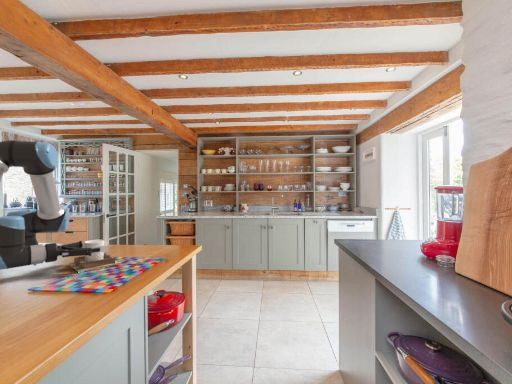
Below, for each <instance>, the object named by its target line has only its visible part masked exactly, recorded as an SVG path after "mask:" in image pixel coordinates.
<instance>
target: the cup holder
mask: <svg viewBox="0 0 512 384" xmlns="http://www.w3.org/2000/svg"><path fill="white" fill-rule="evenodd" d="M73 260H74V261H73V262H70V263H69V264H68V265H69V266H70V267H71V268H72V269H73V270H74V269H75V270H76V271H77V272H81V271H86V270H93V269H98V268H103V267H107V266H112V265H118V264H120V265H121V262H118V261H117V260H116V257H115V256H113V255H111V254H109V253H107V252H104V256H103V259H102V260H96V261H90V262H86V259H85V255H84V256H74V259H73ZM75 270H74V271H75ZM98 270H99V269H98ZM76 271H75V272H76ZM93 271H94V270H93ZM77 272H76V273H77Z"/></svg>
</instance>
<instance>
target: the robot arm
mask: <svg viewBox="0 0 512 384" xmlns="http://www.w3.org/2000/svg"><path fill="white" fill-rule="evenodd" d="M58 166H59V155H58V151H57V149H56V147H55V146H54V145H53V144H51V143H49V142H42V141H25V140H11V139H8V140H6V139H5V140H2V141H0V182H1V181H2V179H3V176H4V174H5V173H7V172H8V171H9V169H10V168H12V167H14V168H18V167H19V168H22V170H23V171H24V173H25V174H27V175H28V176H29V178H30V180H31V181H30V182H31V184H32V187H33V192H34V195H35V199H36V203H37V204H38V208H39V209H38V210H37V209H36V208H31V209H23V210H15V211H9V212H8V213H7V214H6V216H5V215H4V216H0V270H10V269H13V268H14V269H15V268H20V267H27V266H35V267H36V266H37V264H38V265H39V264H43V263H51V262H52V263H53V262H57V261H58V257H59V256H61V258H68V257H69V258H70V257H81V256H85V255H89V256H91V254H93V253H99V252H104V253H107V252H109V245H108V244H104V245H103V246H96V247H91V248H85V246H84V242H85V241H84V242H83V240H79V241H77V242H72V243H67V244H62V245H57V243H56V242H51V243H45V244H41V243H40V244H39V241H38V239H37V234H47V233H48V234H50V233H51V234H52V233H63V232H66V231H67V230H68V227H69V225H70V218H71V217H70V216H71V215H70V214H71V213H70V211H68V210H65V208H64V207H63V206H62V205H61V204H60V199H59V196H58V191H57V186H56V182H55V178H54V173H53V172H54V171H56V168H58ZM87 251H88V252H87Z"/></svg>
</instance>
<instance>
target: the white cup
mask: <svg viewBox="0 0 512 384" xmlns="http://www.w3.org/2000/svg"><path fill="white" fill-rule="evenodd" d="M105 242H106V241H105V240H104V239H91V240H85V241H84V246H85V248H91V247H96V246H103V245H106V244H105ZM87 252H88V251H87ZM104 253H105V252H99V253H93V254H91V256H89V255H84V256H85V259H86V262H90V261H96V260H102V259H103V256H104Z"/></svg>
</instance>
